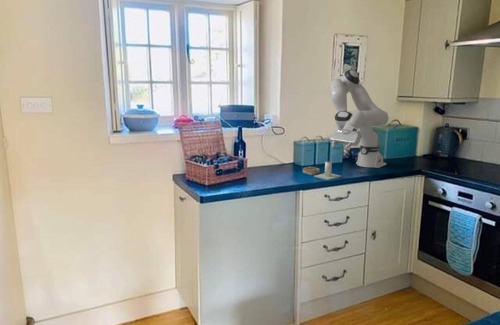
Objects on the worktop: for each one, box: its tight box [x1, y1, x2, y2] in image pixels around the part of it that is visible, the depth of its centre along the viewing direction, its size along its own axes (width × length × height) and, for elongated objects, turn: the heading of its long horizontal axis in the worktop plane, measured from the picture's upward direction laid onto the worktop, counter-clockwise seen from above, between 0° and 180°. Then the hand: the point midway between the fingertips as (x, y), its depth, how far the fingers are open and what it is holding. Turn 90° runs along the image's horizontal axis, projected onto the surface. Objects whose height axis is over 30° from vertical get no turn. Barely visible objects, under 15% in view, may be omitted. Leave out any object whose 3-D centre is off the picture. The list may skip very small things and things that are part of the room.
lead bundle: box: [324, 160, 333, 177], centre depth 229 cm, size 4×4×9 cm
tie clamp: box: [302, 166, 321, 176], centre depth 240 cm, size 8×9×3 cm
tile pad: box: [313, 172, 342, 181], centre depth 230 cm, size 13×11×1 cm
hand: (338, 148), depth 232 cm, fingers open, 8 cm apart
